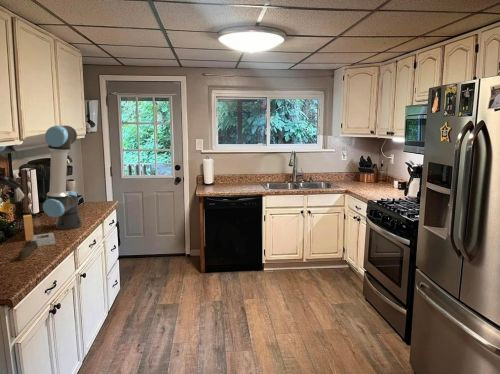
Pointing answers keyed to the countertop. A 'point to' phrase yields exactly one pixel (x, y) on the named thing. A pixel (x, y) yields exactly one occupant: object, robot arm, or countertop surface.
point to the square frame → (43, 239)
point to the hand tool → (27, 250)
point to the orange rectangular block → (28, 226)
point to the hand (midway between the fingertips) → (12, 199)
